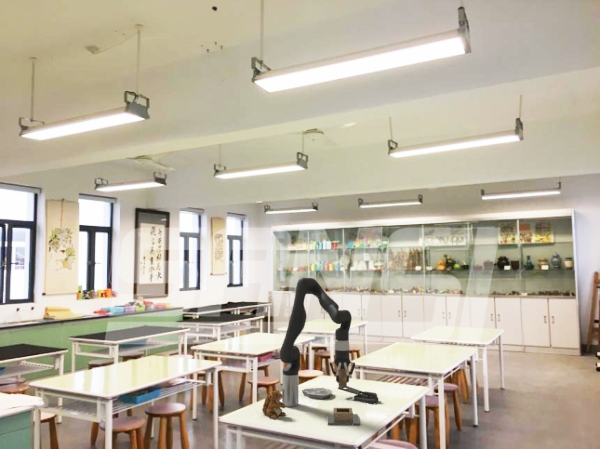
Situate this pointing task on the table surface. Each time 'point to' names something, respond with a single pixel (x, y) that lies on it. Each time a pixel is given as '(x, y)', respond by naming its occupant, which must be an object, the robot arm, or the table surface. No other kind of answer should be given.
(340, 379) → the walnut bar
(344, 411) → the well stand
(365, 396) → the zipper pull
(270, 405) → the stuffed squirrel
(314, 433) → the table surface
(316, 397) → the brain slice
